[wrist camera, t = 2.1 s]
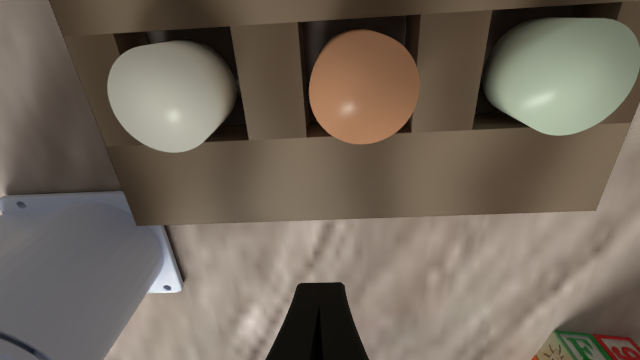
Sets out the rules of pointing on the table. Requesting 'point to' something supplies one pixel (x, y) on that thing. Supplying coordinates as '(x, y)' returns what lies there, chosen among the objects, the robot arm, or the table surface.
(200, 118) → the cream button
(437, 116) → the panel
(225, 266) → the table surface
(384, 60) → the terracotta button
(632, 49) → the sage button
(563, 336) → the stack of blocks
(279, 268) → the table surface
